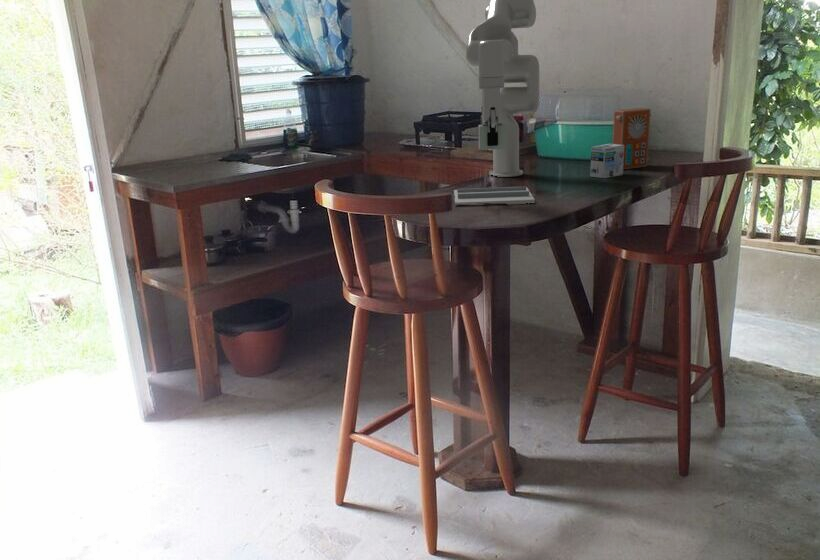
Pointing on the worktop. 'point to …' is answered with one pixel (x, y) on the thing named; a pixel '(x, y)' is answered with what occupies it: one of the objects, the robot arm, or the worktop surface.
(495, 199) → the rail plate
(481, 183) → the worktop surface
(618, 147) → the light bulb box
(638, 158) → the control panel
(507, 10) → the robot arm
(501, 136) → the block
